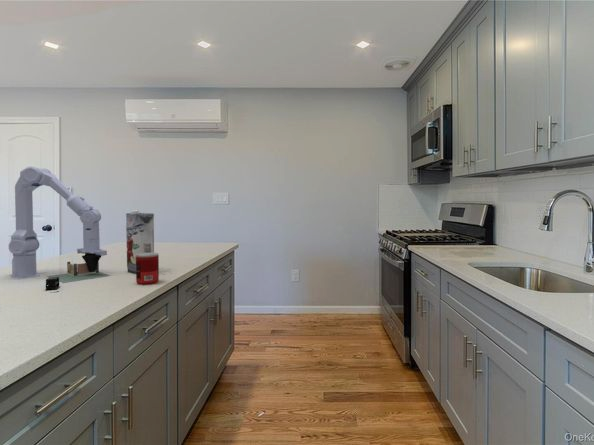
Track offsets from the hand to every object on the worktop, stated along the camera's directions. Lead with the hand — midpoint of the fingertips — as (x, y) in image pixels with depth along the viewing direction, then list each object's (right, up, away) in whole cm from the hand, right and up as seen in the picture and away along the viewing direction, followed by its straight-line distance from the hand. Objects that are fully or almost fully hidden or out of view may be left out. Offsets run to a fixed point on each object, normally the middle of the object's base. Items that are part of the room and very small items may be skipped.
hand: (92, 271), depth 143 cm
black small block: (0, -4, -23) cm, 23 cm away
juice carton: (+17, -2, +7) cm, 18 cm away
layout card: (-4, -2, -3) cm, 5 cm away
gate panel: (-3, -1, +1) cm, 3 cm away
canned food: (+28, -3, -11) cm, 30 cm away
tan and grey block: (-6, -1, +3) cm, 7 cm away
